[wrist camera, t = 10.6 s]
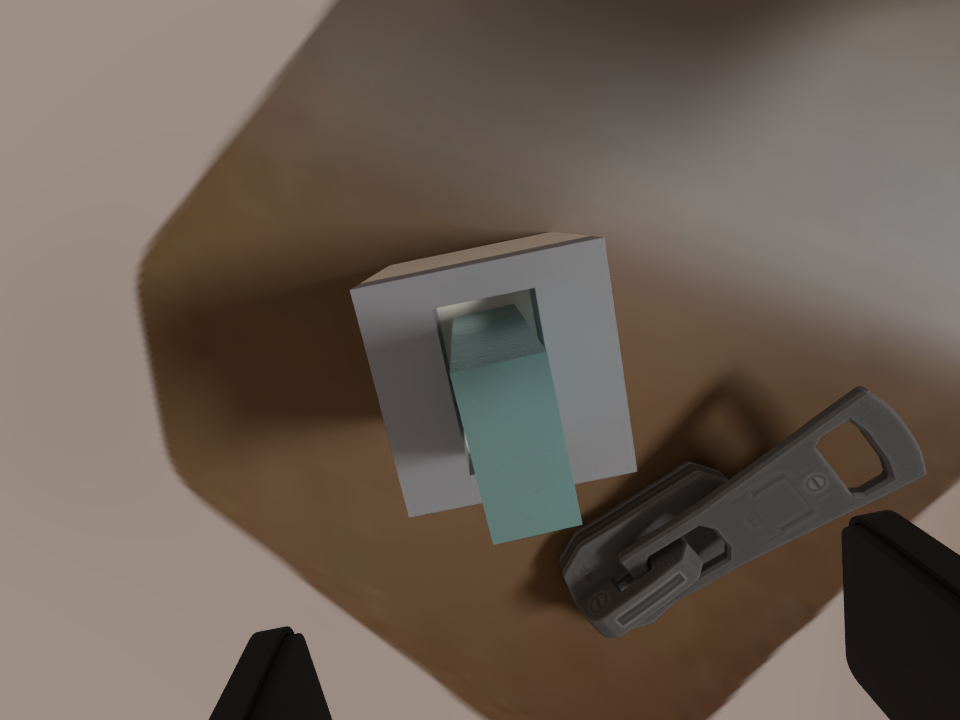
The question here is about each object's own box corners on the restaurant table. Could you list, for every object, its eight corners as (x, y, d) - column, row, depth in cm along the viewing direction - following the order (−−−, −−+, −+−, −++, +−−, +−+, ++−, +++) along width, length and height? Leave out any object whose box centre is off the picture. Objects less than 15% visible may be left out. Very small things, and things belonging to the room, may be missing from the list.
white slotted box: (550, 231, 37) (604, 237, 23) (575, 385, 39) (637, 471, 26) (390, 265, 37) (349, 290, 23) (426, 416, 39) (409, 517, 26)
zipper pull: (944, 475, 35) (636, 695, 38) (869, 436, 41) (610, 627, 45) (874, 375, 33) (555, 615, 36) (806, 350, 39) (541, 556, 43)
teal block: (514, 303, 26) (546, 351, 16) (539, 418, 28) (582, 524, 18) (453, 317, 26) (449, 373, 16) (481, 431, 28) (493, 544, 18)
